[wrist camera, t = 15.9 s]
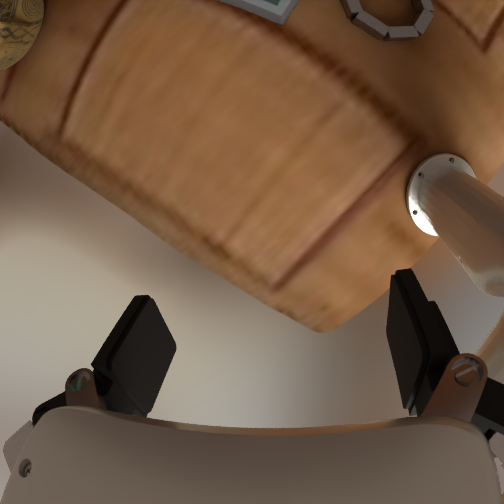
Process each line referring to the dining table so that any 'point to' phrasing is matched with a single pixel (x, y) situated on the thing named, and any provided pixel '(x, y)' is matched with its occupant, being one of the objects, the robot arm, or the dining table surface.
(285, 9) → the bin
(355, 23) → the collar
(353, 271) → the dining table surface
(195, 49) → the dining table surface
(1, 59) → the ceramic bowl
